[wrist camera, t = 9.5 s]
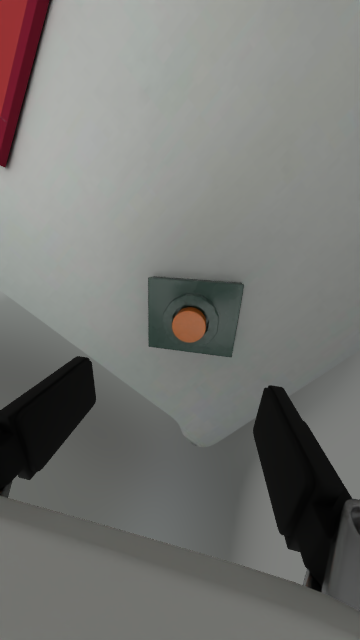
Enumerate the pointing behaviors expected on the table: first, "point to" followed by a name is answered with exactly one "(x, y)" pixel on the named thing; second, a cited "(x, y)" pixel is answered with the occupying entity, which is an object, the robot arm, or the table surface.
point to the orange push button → (189, 324)
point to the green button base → (204, 295)
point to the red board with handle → (16, 61)
